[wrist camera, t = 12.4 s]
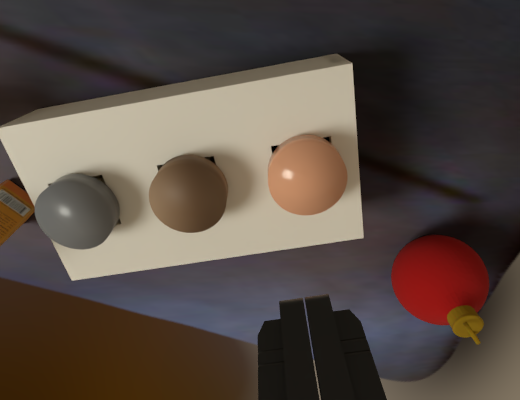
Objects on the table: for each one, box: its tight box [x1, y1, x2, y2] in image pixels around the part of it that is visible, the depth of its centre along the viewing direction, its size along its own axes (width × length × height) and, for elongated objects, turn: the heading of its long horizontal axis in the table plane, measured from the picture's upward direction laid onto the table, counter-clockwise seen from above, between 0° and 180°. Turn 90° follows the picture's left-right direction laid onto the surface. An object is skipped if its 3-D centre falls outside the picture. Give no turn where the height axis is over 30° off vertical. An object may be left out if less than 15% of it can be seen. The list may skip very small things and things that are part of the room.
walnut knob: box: [149, 155, 228, 233], centre depth 26 cm, size 5×5×6 cm
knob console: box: [0, 54, 364, 281], centre depth 28 cm, size 22×12×5 cm, turn 100°
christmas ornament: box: [391, 235, 489, 345], centre depth 29 cm, size 7×7×10 cm
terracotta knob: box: [268, 135, 347, 215], centre depth 26 cm, size 5×5×6 cm
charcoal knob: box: [35, 174, 120, 250], centre depth 27 cm, size 5×5×6 cm
